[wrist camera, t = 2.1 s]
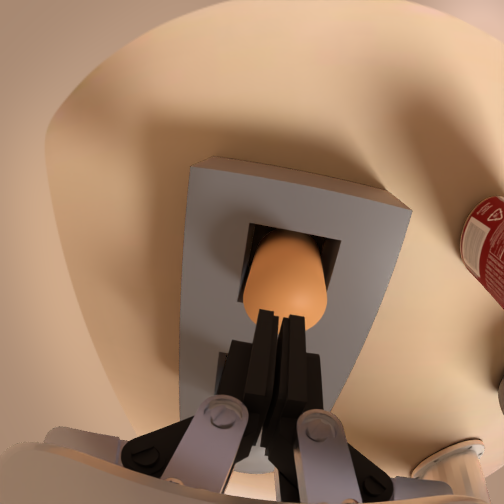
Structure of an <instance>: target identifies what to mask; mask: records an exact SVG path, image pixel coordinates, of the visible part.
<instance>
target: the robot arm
mask: <svg viewBox="0 0 504 504" xmlns="http://www.w3.org/2000/svg"><path fill="white" fill-rule="evenodd" d="M278 325H279V316H275V315H274V311H269V310H264V309H259V313H258V318H257V323H256V328H255V333H254V338H253V342H252V343H248V342H242V341H237V340H232V341H231V345H230V349H229V352H228V356H227V360H226V364H225V368H224V371H223V375H222V379H221V383H220V387H219V390H218V394H217V395H215V396H211V397H209V398H207V399H206V400H204V401H203V402H202V404H201V405H200V406H199V408H198V410H197V412H196V414H195V415H194V416H192V417H189V418H187V419H184V420H182V421H179V422H177V423H174V424H172V425H169V426H167V427H164V428H162V429H159V430H156V431H154V432H151V433H148V434H145V435H143V436H140V437H137V438H134V439H133V440H130V441H125V440H120V439H119V437H115V436H109V435H103V434H97V433H92V432H87V431H82V430H78V429H72V428H68V427H56V428H53V429H52V430H50V431H49V432H48V433H47V435H46V437H45V440H44V443H39V442H23V443H17V444H15V445H13V446H11V447H9V448H8V449H7V450H6V451H4V452H3V453H2V454H1V455H0V504H491V500H490V496H489V493H488V490H487V485H486V482H485V479H484V475H483V472H482V469H481V465H480V462H479V459H480V457H481V456H482V455H483V453H484V451H485V447H484V444H483V442H482V441H480V440H468V441H464V442H461V443H457V444H455V445H452V446H450V447H447V448H445V449H443V450H441V451H439V452H437V453H435V454H433V455H432V456H430V457H428V458H427V459H425V460H424V461H423V462H421V463H420V464H419V465H418V466H417V467H416V468H415V469H414V470H413V472H412V475H411V476H412V478H407V477H400V476H396V477H395V478H390V477H389V476H388V475H387V474H386V473H385V472H384V471H382V470H381V469H380V468H379V467H377V466H376V465H375V464H373V463H372V462H371V461H370V460H368V459H367V458H366V457H365V456H363V455H362V454H361V453H360V452H358V451H357V450H356V449H355V448H353V447H352V446H351V445H350V444H349V443H347V440H346V436H345V433H344V429H343V426H342V423H341V421H340V420H339V419H338V418H337V417H336V416H335V415H334V414H332V413H331V412H328V411H326V410H324V408H323V391H322V376H321V363H320V355H319V354H314V353H307V352H306V333H305V317H304V316H298V315H292V314H290V315H289V318H286V317H283V320H282V324H281V327H280V331H279V335H278ZM277 338H278V339H277ZM261 429H262V434H261V442H260V447H264V448H265V456H268V460H269V461H270V462H271V463H272V464H273V465H274V466H275V467H274V477H275V488H276V500H277V501H267V500H259V499H251V498H244V497H238V496H231V495H226V494H224V493H225V491H226V488H227V486H228V483H229V481H230V478H231V476H232V473H233V471H234V468H235V465H236V463H238V462H240V461H241V460H243V459H245V458H247V457H249V454H250V451H251V448H252V446H256V443H257V441H258V438H259V435H260V432H261Z"/></svg>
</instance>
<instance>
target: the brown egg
mask: <svg viewBox="0 0 504 504" xmlns="http://www.w3.org/2000/svg"><path fill="white" fill-rule="evenodd" d="M243 304H244V308H245V310H246V313H247V315H248V316H249V318H250V319H251V320H252V321H253V322H254V323H255V324H256V323H257V318H258V313H259V309H264V310H269V311H274V315H275V316H279V325H278V334H279V331H280V327H281V324H282V320H283V317H286V318H289V315H290V314H292V315H298V316H304V317H305V331H306V330H308V329H310V328H311V327H313V326H314V325H315V324H316V323H317V322H318V321H319V320H320V319H321V318H322V316H323V314H324V312H325V310H326V306H327V293H326V286H325V280H324V274H323V268H322V263H321V257H320V252H319V248H318V246H317V244H316V242H315V241H314V239H313V238H312V237H311V236H310V235H308V234H306V233H301V232H296V231H291V230H286V229H281V228H279V229H276V230H273V231H271V232H269V233H268V234H267V235H265V236H264V237H263V238H262V240H261V241H260V242H259V244H258V246H257V249H256V252H255V256H254V259H253V262H252V266H251V269H250V273H249V276H248V279H247V283H246V286H245V290H244V294H243Z"/></svg>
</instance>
